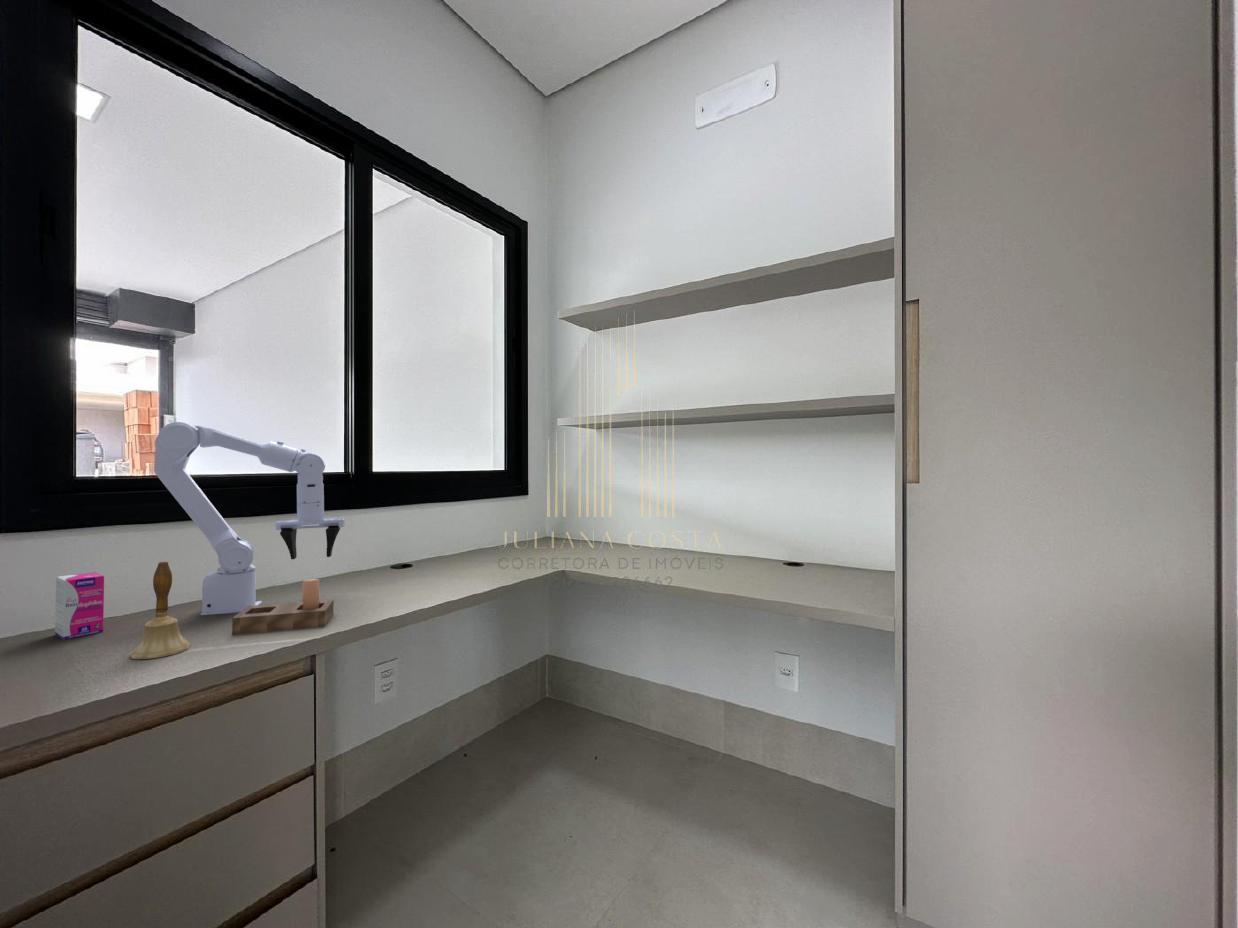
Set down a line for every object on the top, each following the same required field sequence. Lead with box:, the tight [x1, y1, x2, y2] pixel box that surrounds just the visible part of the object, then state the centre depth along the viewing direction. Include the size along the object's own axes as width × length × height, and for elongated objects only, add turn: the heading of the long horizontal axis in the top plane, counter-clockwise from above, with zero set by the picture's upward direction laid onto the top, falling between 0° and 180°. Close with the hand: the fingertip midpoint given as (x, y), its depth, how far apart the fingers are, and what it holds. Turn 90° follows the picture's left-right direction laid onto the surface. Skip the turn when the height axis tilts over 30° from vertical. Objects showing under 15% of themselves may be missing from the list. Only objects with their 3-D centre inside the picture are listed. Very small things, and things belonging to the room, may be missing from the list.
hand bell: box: [129, 561, 192, 660], centre depth 93 cm, size 8×8×16 cm
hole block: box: [231, 599, 334, 636], centre depth 108 cm, size 16×9×4 cm, turn 109°
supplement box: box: [54, 571, 105, 641], centre depth 103 cm, size 6×6×12 cm
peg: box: [302, 578, 320, 610], centre depth 110 cm, size 3×3×9 cm
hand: (311, 557), depth 128 cm, fingers open, 7 cm apart
